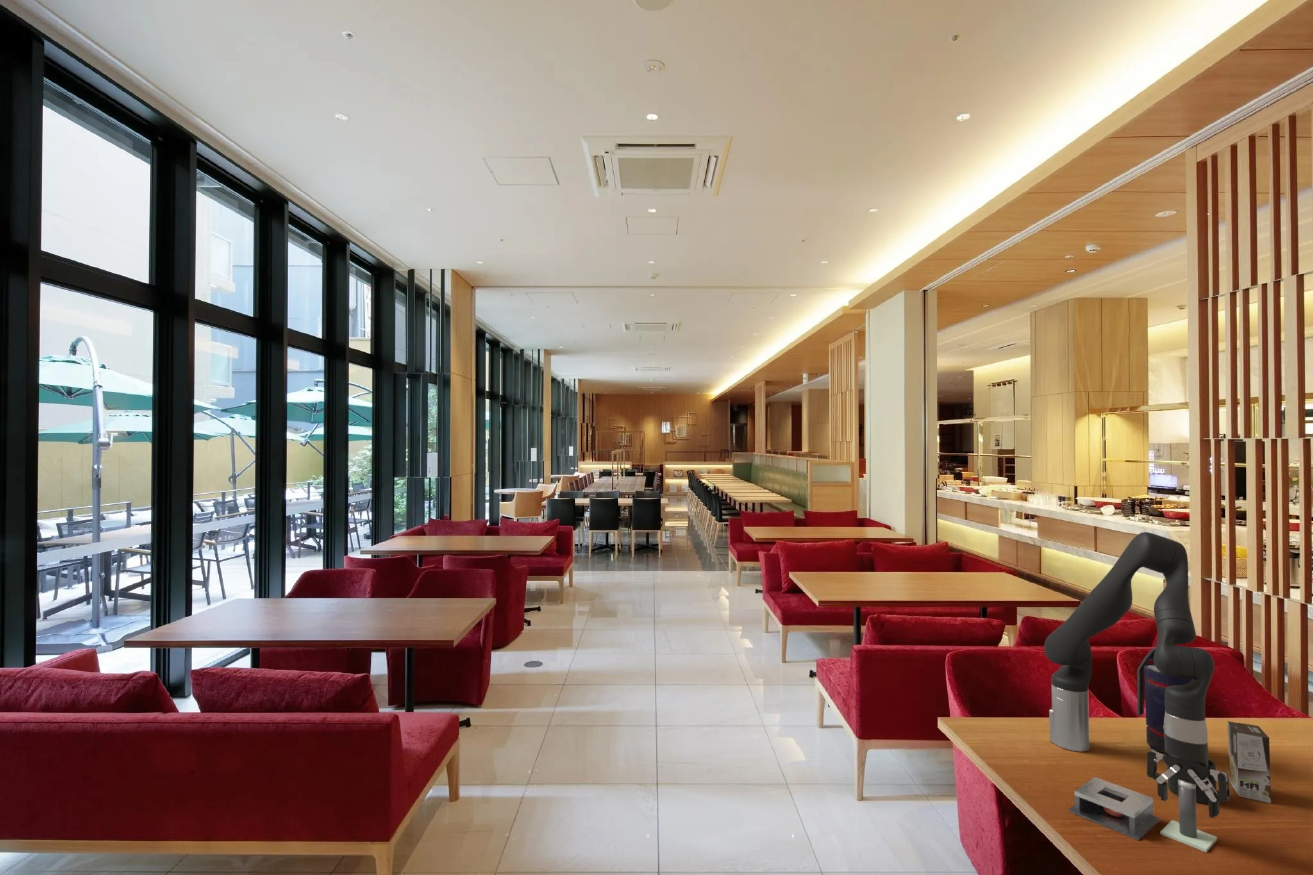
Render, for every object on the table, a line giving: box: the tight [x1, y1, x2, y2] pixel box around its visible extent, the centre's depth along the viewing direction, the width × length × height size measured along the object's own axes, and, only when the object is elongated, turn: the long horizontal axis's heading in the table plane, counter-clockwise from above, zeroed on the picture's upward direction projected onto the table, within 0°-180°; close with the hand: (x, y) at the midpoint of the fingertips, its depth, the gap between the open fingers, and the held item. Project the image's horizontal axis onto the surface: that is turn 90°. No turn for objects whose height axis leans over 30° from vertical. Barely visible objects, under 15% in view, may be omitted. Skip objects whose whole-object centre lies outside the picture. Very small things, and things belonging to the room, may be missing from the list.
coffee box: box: [1227, 720, 1272, 804], centre depth 159 cm, size 9×6×16 cm
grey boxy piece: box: [1068, 776, 1161, 841], centre depth 148 cm, size 14×14×5 cm
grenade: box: [1136, 646, 1192, 754], centre depth 183 cm, size 14×12×30 cm
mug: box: [1166, 758, 1219, 805], centre depth 157 cm, size 9×12×9 cm
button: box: [1103, 806, 1124, 817], centre depth 148 cm, size 4×4×1 cm
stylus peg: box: [1178, 779, 1198, 838], centre depth 140 cm, size 3×3×12 cm
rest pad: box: [1160, 820, 1218, 853], centre depth 139 cm, size 8×8×1 cm
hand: (1187, 807), depth 140 cm, fingers open, 8 cm apart
